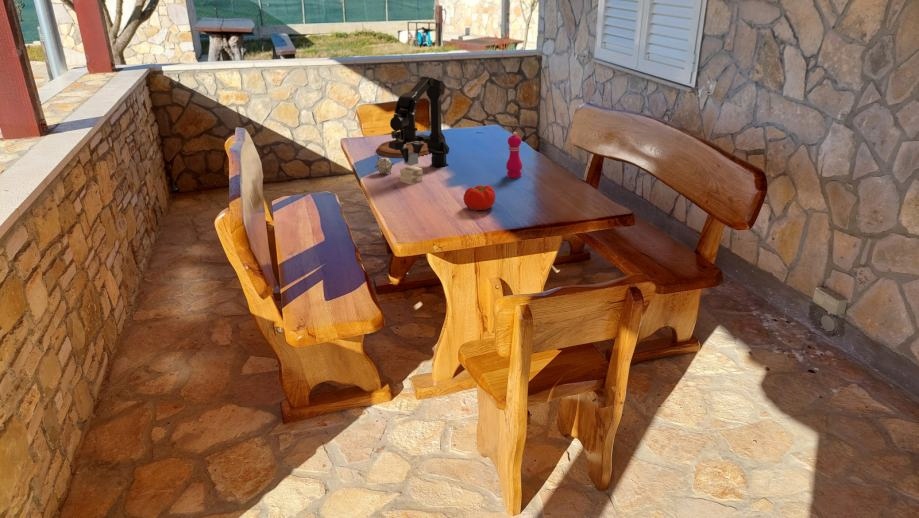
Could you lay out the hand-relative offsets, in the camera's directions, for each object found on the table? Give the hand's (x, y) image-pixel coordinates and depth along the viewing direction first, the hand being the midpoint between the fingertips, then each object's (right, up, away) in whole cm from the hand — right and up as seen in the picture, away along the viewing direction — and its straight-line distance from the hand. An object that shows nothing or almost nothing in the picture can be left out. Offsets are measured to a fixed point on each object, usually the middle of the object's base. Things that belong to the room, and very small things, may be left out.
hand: (410, 161), depth 276 cm
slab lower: (0, -9, +4) cm, 10 cm away
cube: (0, -1, 0) cm, 1 cm away
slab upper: (0, -6, +3) cm, 7 cm away
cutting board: (-6, +14, +53) cm, 55 cm away
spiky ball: (-13, -4, +15) cm, 20 cm away
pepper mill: (+46, -6, +7) cm, 47 cm away
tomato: (+30, -23, -30) cm, 48 cm away
